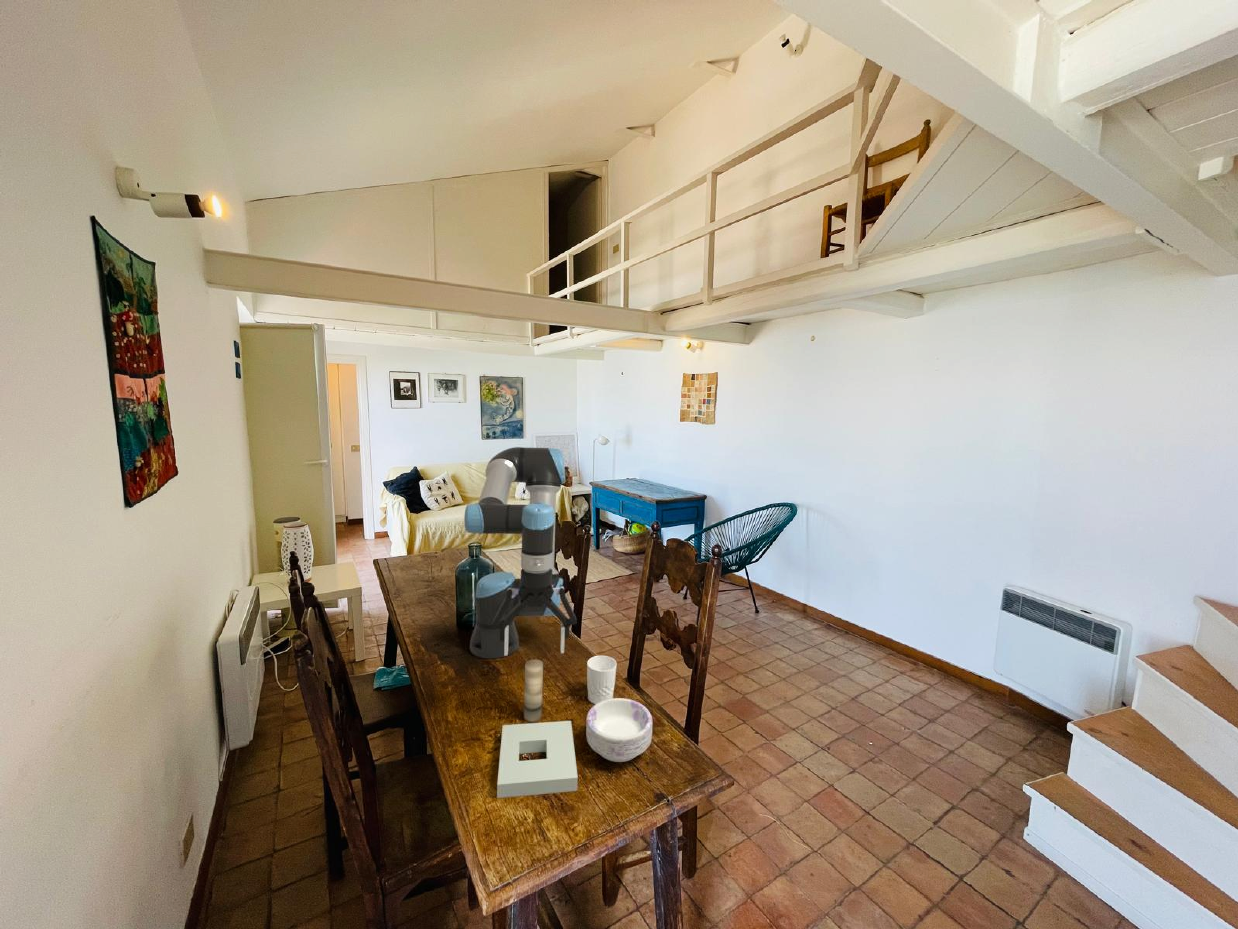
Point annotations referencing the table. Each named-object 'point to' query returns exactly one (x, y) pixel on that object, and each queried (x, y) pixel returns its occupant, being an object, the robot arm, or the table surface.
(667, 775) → the table surface
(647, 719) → the paper bowls
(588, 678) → the white cup
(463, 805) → the table surface
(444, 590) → the table surface
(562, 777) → the socket board
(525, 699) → the maple dowel
